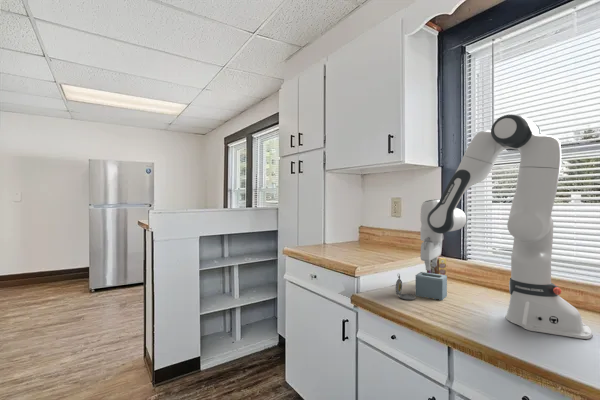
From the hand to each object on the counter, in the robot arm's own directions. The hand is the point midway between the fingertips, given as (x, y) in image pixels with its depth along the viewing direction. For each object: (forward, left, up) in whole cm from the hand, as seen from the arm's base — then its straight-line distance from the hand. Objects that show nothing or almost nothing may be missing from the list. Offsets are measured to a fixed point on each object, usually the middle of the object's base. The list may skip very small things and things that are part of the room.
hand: (431, 268), depth 135 cm
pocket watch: (+9, +10, -12) cm, 18 cm away
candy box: (+1, -12, -12) cm, 18 cm away
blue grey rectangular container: (0, 0, -12) cm, 12 cm away
